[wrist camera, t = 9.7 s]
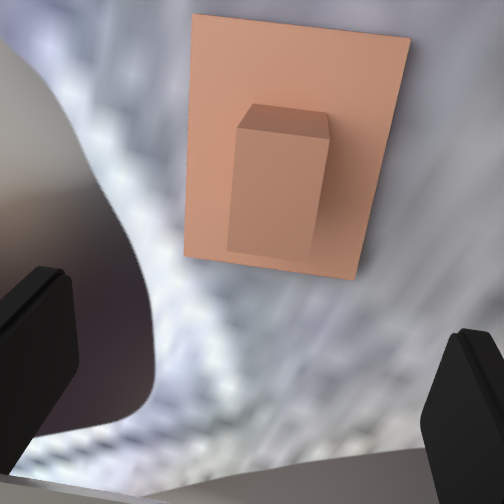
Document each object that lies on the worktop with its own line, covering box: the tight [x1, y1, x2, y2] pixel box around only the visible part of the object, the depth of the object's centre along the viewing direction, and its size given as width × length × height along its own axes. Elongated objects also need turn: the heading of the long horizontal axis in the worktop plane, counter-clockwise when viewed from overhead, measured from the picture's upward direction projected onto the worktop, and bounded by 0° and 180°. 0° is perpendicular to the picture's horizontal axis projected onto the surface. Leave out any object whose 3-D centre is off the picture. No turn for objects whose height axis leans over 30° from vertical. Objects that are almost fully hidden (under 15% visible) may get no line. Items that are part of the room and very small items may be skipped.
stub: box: [184, 14, 411, 281], centre depth 24 cm, size 11×14×7 cm
